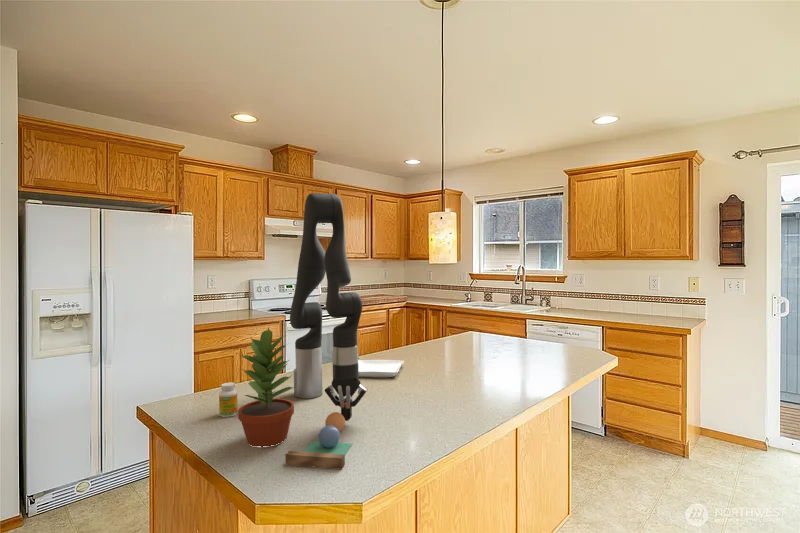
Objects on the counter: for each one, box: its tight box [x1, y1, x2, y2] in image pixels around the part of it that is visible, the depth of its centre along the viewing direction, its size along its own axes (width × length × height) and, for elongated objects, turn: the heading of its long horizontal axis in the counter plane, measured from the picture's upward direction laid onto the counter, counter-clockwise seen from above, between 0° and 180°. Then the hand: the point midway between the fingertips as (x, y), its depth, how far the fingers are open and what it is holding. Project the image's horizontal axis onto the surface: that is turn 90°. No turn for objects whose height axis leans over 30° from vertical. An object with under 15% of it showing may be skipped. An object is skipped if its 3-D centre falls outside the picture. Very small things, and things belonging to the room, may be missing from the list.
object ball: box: [317, 425, 341, 448], centre depth 110 cm, size 6×6×6 cm
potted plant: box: [237, 326, 296, 447], centre depth 115 cm, size 15×15×30 cm
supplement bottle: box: [218, 381, 239, 418], centre depth 135 cm, size 5×5×10 cm
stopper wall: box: [284, 450, 346, 470], centre depth 101 cm, size 14×2×2 cm, turn 79°
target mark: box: [302, 440, 353, 456], centre depth 107 cm, size 11×11×1 cm
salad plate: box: [358, 359, 405, 378], centre depth 183 cm, size 21×21×3 cm
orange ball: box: [324, 411, 346, 433], centre depth 119 cm, size 6×6×6 cm
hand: (346, 419), depth 125 cm, fingers closed
